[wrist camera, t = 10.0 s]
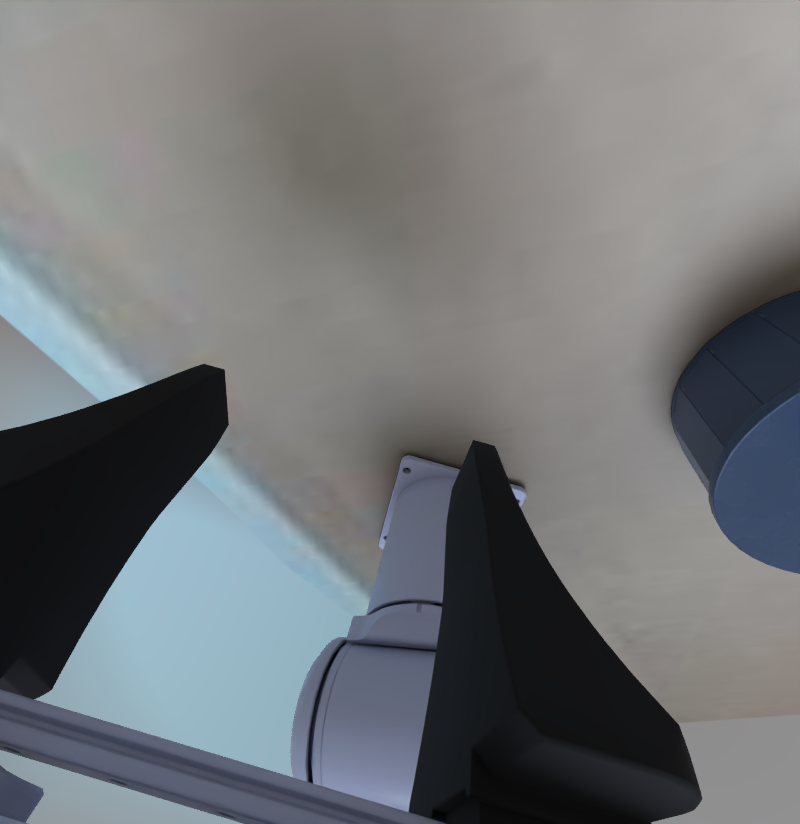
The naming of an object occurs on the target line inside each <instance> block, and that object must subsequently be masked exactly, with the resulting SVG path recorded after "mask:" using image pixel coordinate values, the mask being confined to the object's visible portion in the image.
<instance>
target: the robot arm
mask: <svg viewBox="0 0 800 824" xmlns="http://www.w3.org/2000/svg"><path fill="white" fill-rule="evenodd" d="M228 425H229V423H228V410H227V396H226V383H225V370H224V369H220V368H217V367H213V366H210V365H206V364H202V365H199V366H196V367H193V368H190V369H188V370H185V371H183V372H180V373H177V374H175V375H172V376H170V377H167V378H165V379H162V380H160V381H157V382H155V383H152V384H150V385H147V386H144V387H142V388H139V389H137V390H134V391H132V392H129V393H126V394H124V395H121V396H118V397H115V398H112V399H109V400H106V401H104V402H101V403H98V404H95V405H92V406H89V407H86V408H84V409H80V410H77V411H74V412H71V413H68V414H64V415H61V416H58V417H54V418H50V419H47V420H43V421H39V422H36V423H32V424H28V425H24V426H21V427H16V428H11V429H7V430H2V431H0V750H3V751H7V752H10V753H13V754H16V755H20V756H23V757H26V758H29V759H33V760H36V761H39V762H43V763H46V764H50V765H52V766H56V767H59V768H62V769H66V770H69V771H72V772H76V773H79V774H82V775H86V776H89V777H92V778H96V779H99V780H102V781H105V782H109V783H112V784H116V785H118V786H122V787H125V788H128V789H132V790H135V791H138V792H142V793H145V794H148V795H152V796H155V797H158V798H162V799H165V800H168V801H171V802H174V803H178V804H181V805H184V806H188V807H191V808H194V809H197V810H201V811H204V812H208V813H211V814H214V815H217V816H221V817H224V818H227V819H230V820H234V821H237V822H240V823H244V824H651V822H653V821H658V820H662V819H665V818H670V817H674V816H678V815H682V814H685V813H687V812H690V811H693V810H694V809H695V808H696V807H697V806H698V805H699V803H700V802H701V800H702V796H701V791H700V788H699V785H698V781H697V778H696V774H695V771H694V768H693V765H692V761H691V758H690V754H689V752H688V749H687V746H686V743H685V740H684V737H683V735H682V732H681V729H680V727H679V725H678V724H677V722H676V721H675V720H674V719H673V718H672V717H671V716H670V715H669V714H668V713H667V712H666V710H665V709H664V708H663V707H662V706H661V705H660V704H659V703H658V702H657V701H656V699H655V698H654V697H653V696H652V695H651V694H650V693H649V692H648V691H647V690H646V688H645V687H644V686H643V685H642V684H641V683H640V682H639V681H638V680H637V679H636V678H635V676H634V675H633V674H632V673H631V672H630V671H629V670H628V668H627V667H626V666H625V665H624V664H623V662H622V661H621V660H620V659H619V657H618V656H617V655H616V654H615V653H614V651H613V650H612V649H611V648H610V647H609V645H608V644H607V643H606V642H605V641H604V639H603V638H602V637H601V635H600V634H599V633H598V632H597V630H596V629H595V628H594V626H593V625H592V624H591V622H590V621H589V620H588V618H587V617H586V616H585V614H584V613H583V611H582V610H581V609H580V607H579V606H578V605H577V603H576V602H575V601H574V599H573V598H572V596H571V595H570V594H569V592H568V591H567V589H566V588H565V586H564V585H563V583H562V582H561V580H560V579H559V577H558V576H557V574H556V572H555V571H554V569H553V568H552V566H551V564H550V563H549V561H548V559H547V558H546V556H545V554H544V553H543V551H542V549H541V547H540V545H539V544H538V542H537V540H536V538H535V536H534V534H533V532H532V530H531V528H530V527H529V525H528V523H527V521H526V518H525V516H524V514H523V512H522V510H521V506H522V504H523V502H524V501H525V499H526V496H527V494H526V490H525V489H524V488H522V487H520V486H516V485H513V484H510V483H509V481H508V478H507V476H506V473H505V471H504V468H503V465H502V463H501V460H500V457H499V455H498V452H497V450H496V448H495V446H493V445H489V444H486V443H482V442H479V441H475V440H473V441H472V444H471V446H470V448H469V451H468V453H467V455H466V458H465V460H464V462H463V464H462V467H461V469H456V468H453V467H449V466H446V465H442V464H439V463H435V462H432V461H428V460H425V459H421V458H418V457H414V456H410V455H407V456H404V457H403V458H402V460H401V464H400V468H399V471H398V475H397V478H396V482H395V486H394V489H393V493H392V496H391V500H390V504H389V507H388V511H387V515H386V518H385V522H384V525H383V529H382V533H381V536H380V540H379V543H378V546H379V547H380V548H381V549H383V554H382V557H381V561H380V565H379V569H378V572H377V576H376V580H375V584H374V588H373V591H372V595H371V599H370V603H369V606H368V610H367V614H366V616H354V617H353V619H352V622H351V626H350V629H349V632H348V636H347V638H346V637H339V638H336V639H334V640H332V641H331V642H330V643H329V644H328V645H327V646H326V647H325V648H324V650H323V651H322V652H321V654H320V655H319V656H318V657H317V659H316V660H315V661H314V663H313V665H312V666H311V668H310V670H309V672H308V674H307V677H306V679H305V681H304V684H303V686H302V689H301V693H300V695H299V699H298V703H297V707H296V711H295V716H294V721H293V728H292V736H291V766H292V773H293V777H294V778H293V777H289V776H286V775H283V774H280V773H276V772H273V771H270V770H266V769H263V768H260V767H256V766H253V765H250V764H246V763H243V762H239V761H236V760H233V759H230V758H226V757H223V756H220V755H216V754H213V753H210V752H206V751H203V750H200V749H196V748H193V747H190V746H186V745H183V744H180V743H176V742H173V741H170V740H166V739H163V738H160V737H157V736H153V735H149V734H146V733H143V732H140V731H137V730H133V729H130V728H127V727H123V726H120V725H117V724H113V723H110V722H107V721H103V720H100V719H97V718H93V717H90V716H87V715H83V714H80V713H77V712H73V711H70V710H66V709H63V708H60V707H57V706H53V705H50V704H47V703H43V702H40V701H37V700H33V699H36V698H38V697H40V696H42V695H44V694H46V693H47V692H49V691H50V690H52V688H53V686H54V684H55V683H56V680H57V679H58V677H59V674H60V673H61V671H62V670H63V668H64V666H65V664H66V662H67V660H68V659H69V657H70V655H71V653H72V651H73V650H74V648H75V646H76V644H77V642H78V640H79V639H80V637H81V635H82V633H83V632H84V630H85V628H86V627H87V625H88V623H89V622H90V619H91V618H92V616H93V615H94V613H95V612H96V610H97V608H98V607H99V605H100V603H101V601H102V600H103V598H104V596H105V595H106V593H107V591H108V590H109V588H110V587H111V585H112V583H113V582H114V580H115V579H116V577H117V576H118V574H119V573H120V571H121V570H122V568H123V566H124V565H125V563H126V562H127V560H128V559H129V557H130V556H131V554H132V553H133V551H134V550H135V548H136V547H137V545H138V544H139V542H140V541H141V539H142V538H143V537H144V535H145V534H146V532H147V530H148V529H149V528H150V526H151V525H152V524H153V523H154V521H155V520H156V519H157V517H158V516H159V515H160V514H161V512H162V511H163V510H164V509H165V508H166V506H167V505H168V504H169V503H170V502H171V500H172V499H173V498H174V497H175V496H176V495H177V493H178V492H179V491H180V490H181V489H182V487H183V486H184V485H185V484H186V483H187V481H188V480H189V479H190V478H191V477H192V476H193V474H194V473H195V472H196V471H197V470H198V468H199V467H200V466H201V465H202V464H203V462H204V461H205V460H206V459H207V457H208V456H209V455H210V454H211V452H212V451H213V449H214V448H215V446H216V445H217V443H218V442H219V440H220V438H221V437H222V435H223V433H224V432H225V430H226V428H227V427H228ZM405 468H409V469H410V470H407V469H405ZM517 499H518V500H517ZM42 797H43V789H42V788H40V787H38V786H36V785H34V784H31V783H29V782H27V781H25V780H23V779H21V778H19V777H17V776H15V775H13V774H12V773H10V772H8V771H6V770H5V769H4V768H3V767H1V766H0V824H27V823H26V821H27V819H28V818H29V816H30V815H31V813H32V812H33V810H34V809H35V807H36V806H37V804H38V803H39V801H40V800H41V798H42Z"/></svg>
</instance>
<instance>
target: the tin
mask: <svg viewBox="0 0 800 824" xmlns="http://www.w3.org/2000/svg"><path fill="white" fill-rule="evenodd" d="M798 380H800V291H798V292H795V293H792V294H789V295H786V296H784V297H781V298H778V299H776V300H774V301H772V302H769V303H767V304H765V305H763V306H760V307H758V308H757V309H755V310H753V311H751V312H749V313H748V314H746V315H744V316H742V317H741V318H739V319H738V320H736V321H735V322H733V323H732V324H730V325H729V326H727V327H726V328H725V329H723V330H722V331H721V332H720V333H718V334H717V335H716V336H715V337H714V338H712V339H711V340H710V341H709V342H708V343H707V344H706V345H705V346H704V347H703V348H702V349H701V350H700V351H699V352H698V353H697V355H696V356H695V357H694V358H693V360H692V361H691V362H690V363H689V365H688V366H687V368H686V370H685V371H684V373H683V374H682V376H681V378H680V380H679V382H678V385H677V387H676V389H675V393H674V396H673V400H672V408H671V418H672V425H673V429H674V432H675V434H676V436H677V438H678V440H679V442H680V445H681V448H682V450H683V452H684V454H685V455H686V457H687V459H688V460H689V462H690V464H691V465H692V467H693V468H694V470H695V472H696V473H697V475H698V477H699V478H700V480H701V482H702V483H703V485H704V486H705V488H706V490H707V491H708V493H709V482H710V477H711V472H712V470H713V467H714V465H715V462H716V460H717V458H718V456H719V454H720V453H721V451H722V449H723V447H724V446H725V444H726V443H727V441H728V440H729V439H730V438H731V436H732V435H733V434H734V433H735V431H736V430H737V429H738V428H739V427H740V426H741V425H742V424H743V423H744V422H745V421H746V420H747V419H748V418H749V417H750V416H751V415H752V414H753V413H754V412H755V411H756V410H758V409H759V408H760V407H761V406H763V405H764V404H765V403H766V402H767V401H769V400H770V399H771V398H772V397H774V396H775V395H777V394H778V393H780V392H781V391H783V390H784V389H786V388H787V387H789V386H790V385H792V384H793V383H795V382H797V381H798Z"/></svg>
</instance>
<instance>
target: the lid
mask: <svg viewBox="0 0 800 824" xmlns="http://www.w3.org/2000/svg"><path fill="white" fill-rule="evenodd" d="M709 503H710V507H711V511H712V514H713V516H714V518H715V520H716V522H717V523H718V525H719V527H720V529H721V530H722V532H723V533H724V534H725V535H726V537H727V538H728V539H729V540H730V541H731V542H732V543H733V544H734V545H735V546H736V547H738V548H739V549H740V550H741V551H743V552H745V553H746V554H748V555H749V556H751V557H753V558H754V559H757V560H759V561H761V562H763V563H765V564H767V565H770V566H773V567H776V568H779V569H782V570H786V571H790V572H794V573H799V574H800V380H798V381H797V382H795V383H793V384H792V385H790V386H789V387H787V388H786V389H784V390H783V391H781V392H780V393H778V394H777V395H775V396H774V397H772V398H771V399H770V400H769V401H767V402H766V403H765V404H764V405H763V406H761V407H760V408H759V409H758V410H756V411H755V412H754V413H753V414H752V415H751V416H750V417H749V418H748V419H747V420H746V421H745V422H744V423H743V424H742V425H741V426H740V427H739V428H738V429H737V430H736V431H735V433H734V434H733V435H732V436H731V438H730V439H729V440H728V441H727V443H726V444H725V446H724V447H723V449H722V451H721V453H720V454H719V456H718V458H717V460H716V462H715V465H714V467H713V470H712V472H711V477H710V482H709Z"/></svg>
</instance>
